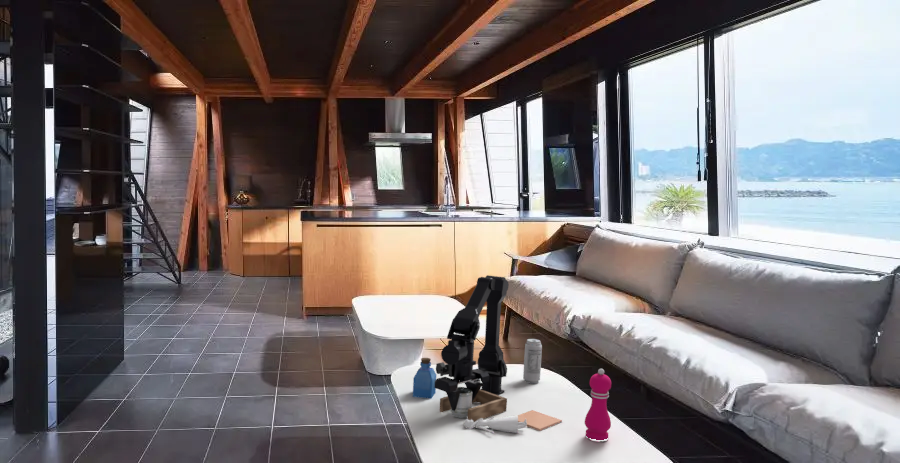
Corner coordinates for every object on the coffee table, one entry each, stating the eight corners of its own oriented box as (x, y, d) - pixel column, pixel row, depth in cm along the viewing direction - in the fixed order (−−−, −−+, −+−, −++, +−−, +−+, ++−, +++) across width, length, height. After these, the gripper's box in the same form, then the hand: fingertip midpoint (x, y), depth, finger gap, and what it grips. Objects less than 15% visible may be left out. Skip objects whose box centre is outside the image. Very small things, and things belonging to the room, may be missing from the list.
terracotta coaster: (532, 411, 203) (532, 410, 202) (561, 422, 195) (561, 420, 195) (510, 419, 195) (510, 418, 195) (539, 430, 187) (540, 428, 187)
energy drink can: (538, 379, 237) (540, 338, 236) (541, 384, 231) (543, 342, 230) (521, 378, 237) (524, 338, 236) (524, 383, 231) (526, 342, 230)
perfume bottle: (431, 398, 210) (433, 362, 209) (412, 396, 211) (414, 360, 211) (435, 393, 216) (437, 357, 215) (417, 390, 217) (419, 355, 217)
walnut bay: (475, 400, 211) (476, 388, 211) (506, 411, 202) (507, 398, 202) (439, 411, 199) (440, 398, 199) (470, 423, 190) (471, 410, 190)
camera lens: (472, 412, 199) (474, 387, 198) (468, 419, 193) (470, 393, 192) (452, 409, 200) (454, 384, 200) (448, 416, 194) (449, 390, 194)
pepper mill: (580, 432, 187) (585, 364, 186) (605, 433, 188) (609, 365, 186) (588, 443, 180) (592, 372, 178) (613, 443, 181) (618, 372, 179)
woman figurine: (527, 423, 180) (462, 423, 181) (527, 439, 181) (463, 439, 182) (525, 409, 192) (464, 409, 193) (525, 424, 192) (464, 424, 193)
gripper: (465, 347, 207) (462, 395, 209) (422, 356, 194) (420, 407, 195) (491, 354, 200) (488, 404, 201) (449, 364, 186) (446, 417, 187)
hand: (461, 407), depth 196 cm, fingers closed on camera lens, 6 cm apart
